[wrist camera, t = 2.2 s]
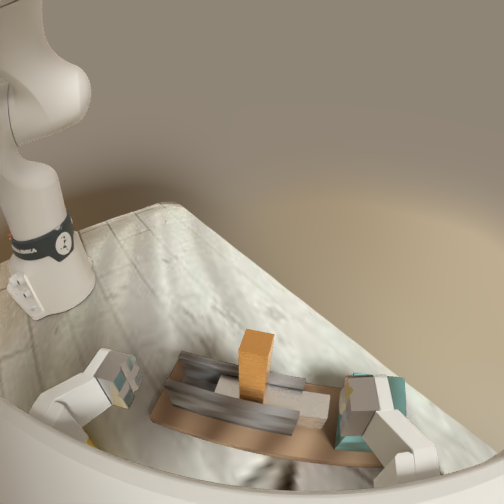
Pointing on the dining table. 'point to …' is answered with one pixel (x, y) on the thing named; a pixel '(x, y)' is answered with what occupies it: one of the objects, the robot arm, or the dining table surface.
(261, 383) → the post on white base
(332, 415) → the slide bolt latch board
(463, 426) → the dining table surface
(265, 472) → the dining table surface
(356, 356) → the dining table surface
